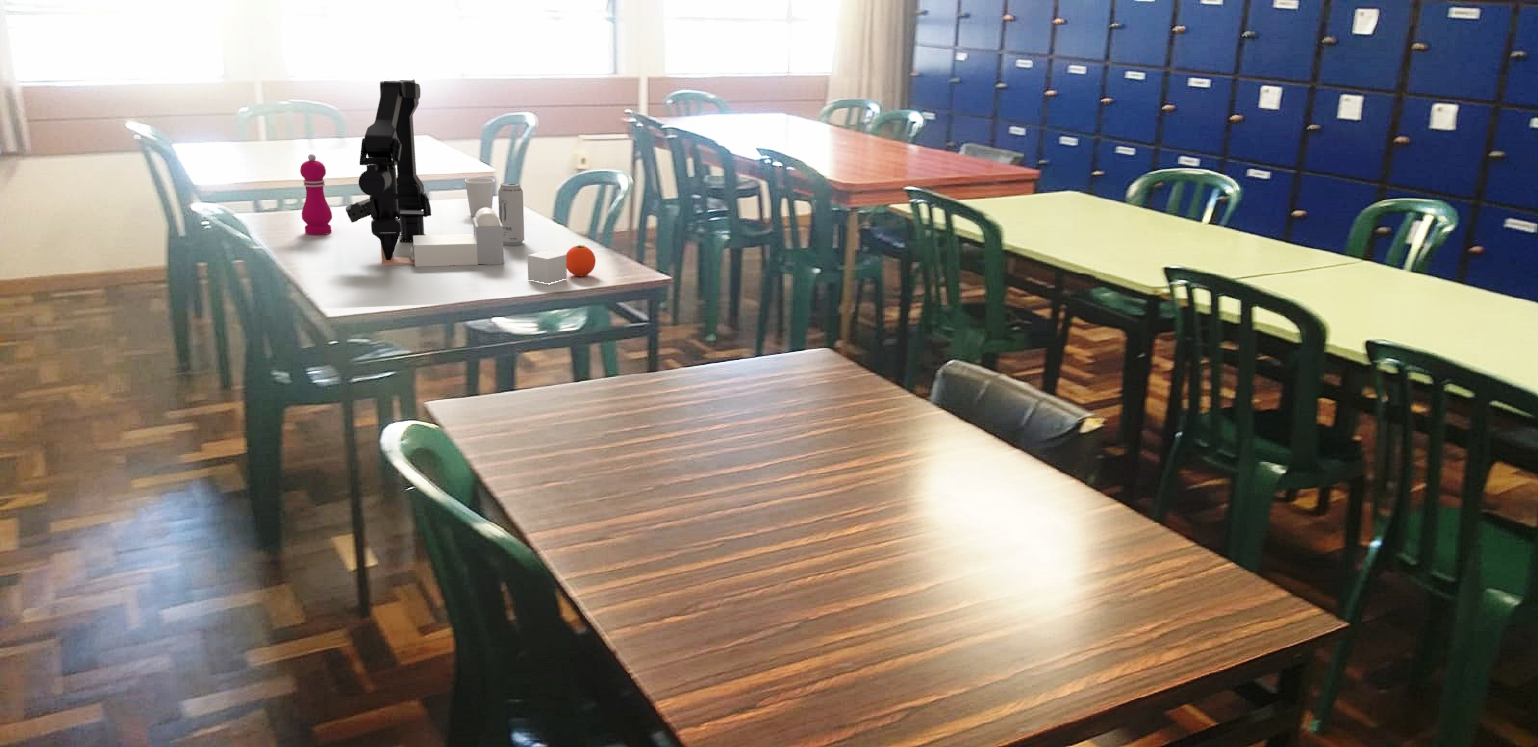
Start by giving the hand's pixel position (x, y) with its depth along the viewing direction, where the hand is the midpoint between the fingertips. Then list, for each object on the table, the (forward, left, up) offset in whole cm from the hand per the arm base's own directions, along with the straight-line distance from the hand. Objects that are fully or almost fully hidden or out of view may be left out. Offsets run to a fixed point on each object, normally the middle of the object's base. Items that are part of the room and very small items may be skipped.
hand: (388, 255), depth 267 cm
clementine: (+19, +42, -2) cm, 46 cm away
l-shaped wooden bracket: (0, +6, -2) cm, 6 cm away
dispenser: (0, +16, -2) cm, 16 cm away
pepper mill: (-36, -17, -2) cm, 40 cm away
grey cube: (+23, +34, -2) cm, 41 cm away
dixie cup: (-56, +25, -2) cm, 61 cm away
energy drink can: (-17, +30, -2) cm, 34 cm away
